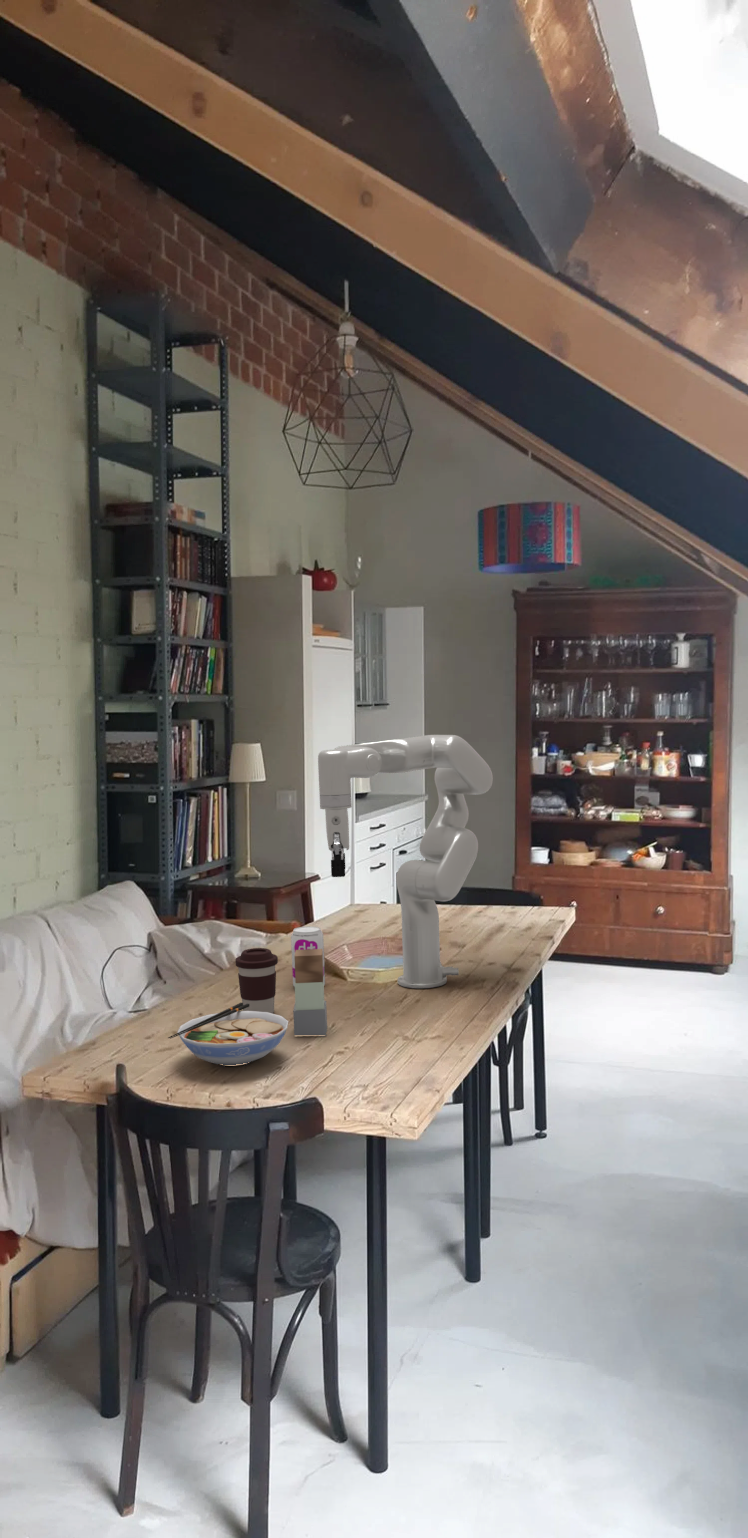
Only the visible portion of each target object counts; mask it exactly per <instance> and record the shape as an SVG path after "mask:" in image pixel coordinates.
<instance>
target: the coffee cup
mask: <svg viewBox="0 0 748 1538" xmlns="http://www.w3.org/2000/svg"><path fill="white" fill-rule="evenodd" d="M278 958H279V957H278V956H277V955H276V954H275V953H272V950H271V949H269V948H267V947H266V948H265V947H254V948H248V949H244V950H243V951H241V954H240V955H238V956H237V957H236V958H235V966H236V967H237V968H238V974H237V977H238V983H239V986H238V987H239V994H240V995H239V996H240V998H241V1003H243V1005H245V1004H249V1006H250V1007H247V1008H245V1009H242V1011H258V1012H268V1013H272V1014H274V1012H275V996H276V993H277V991H276V988H277V987H276V986H277V970H276V965H277V964H278V963H279V961H278V960H279V959H278Z"/></svg>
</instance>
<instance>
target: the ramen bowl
mask: <svg viewBox="0 0 748 1538" xmlns="http://www.w3.org/2000/svg"><path fill="white" fill-rule="evenodd" d="M247 1007H250V1006H249V1004H245V1005H243V1003H242V1002H239V1003H237V1004H235V1005H233V1006H230V1007H229V1008H226V1009H224V1010H222V1011H220V1012H217V1013H211V1014H205V1015H203V1016H200V1017H196V1018H193V1019H189V1020H188V1021H186V1022H185V1023H183V1024H181V1025H180V1026H179V1027H178V1030H177V1033H174V1034H172V1035H171V1036H168V1037H167V1039H173V1038H176V1037H179V1038H180V1040H181V1041H182V1042H183V1044H184V1045H185V1047H186V1048H187V1049H188V1051H190V1052H191V1053H192V1054H193V1055H194V1056H196V1058H198V1059H201V1060H202V1061H205V1062H208V1063H212V1064H215V1065H218V1064H223V1065H236V1064H243V1063H248V1062H251V1061H252V1062H254V1061H256V1060H259V1059H262V1058H263V1057H265V1056H267V1055H268V1054H269V1053H271V1052H273V1050H275V1049H276V1048H277V1047H278V1045H279V1044H280V1042H281V1041H282V1039H283V1038H284V1036H285V1034H286V1032H287V1029H288V1027H289V1026H288V1025H289V1020H287V1019H286V1018H285V1017H284V1016H282V1015H279V1014H275V1013H268V1012H258V1011H243V1009H245V1008H247ZM252 1062H251V1063H252Z"/></svg>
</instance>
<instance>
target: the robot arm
mask: <svg viewBox="0 0 748 1538" xmlns="http://www.w3.org/2000/svg"><path fill="white" fill-rule="evenodd" d="M317 764H318V765H317V767H318V768H317V769H318V770H317V771H318V788H319V789H318V790H319V792H318V793H319V794H318V795H319V809H320V810H324V811H325V829H326V830H325V831H326V839H327V846H328V850H329V851H331V859H330V868H331V871H330V873H331V875H330V876H331V877H332V878H344V877H345V876H346V854H345V852H344V851H345V850H344V849H346V851H348V850H350V826H349V823H350V822H349V812H348V809H351V808H352V807H353V806H352V805H353V804H352V788H351V787H352V785H351V784H352V782H351V780H352V779H353V778H355V779H369V778H372V777H374V776H375V775H377V774H379V773H380V774H382V773H383V774H403V773H409V772H414V771H415V772H416V771H422V770H427V769H435V768H436V769H435V771H434V784H435V787H436V790H437V791H436V792H437V796H438V806H437V809H436V811H435V814H434V816H433V817H432V819H431V820H430V823H429V824H428V826H427V828H426V830H425V832H424V834H423V835H422V838H421V840H420V843H419V852H420V855H421V856H422V857H423V858H424V860H422V859H411V860H407V861H405V862H404V863H402V864H401V865H400V866H399V868H398V870H397V873H396V878H395V879H396V881H395V882H396V886H397V887H396V888H397V891H398V895H399V896H398V897H399V901H400V911H401V912H400V913H401V914H400V915H401V937H402V939H401V940H402V942H401V943H402V944H401V945H402V969H403V971H402V972H403V974H402V975H400V976H398V977H397V984H398V985H399V986H401V987H403V988H410V989H432V988H438V987H441V986H444V985H445V984H446V983H448V982H447V981H448V979H447V978H448V977H447V976H459V972H460V971H459V967H453V966H444V965H442V962H441V949H440V947H441V946H440V945H441V943H440V913H439V909H438V905H437V903H436V902H448V901H449V902H450V901H451V900H453V899H454V898H456V897H457V895H458V894H459V892H460V891H461V889H462V887H463V885H464V883H465V881H466V879H467V877H468V875H469V874H470V871H471V869H472V868H473V866H474V864H475V861H476V859H477V856H478V852H479V841H478V838H477V836H476V833H474V832H473V831H472V830H470V828H469V829H468V828H466V825H467V824H468V821H469V814H470V812H469V808H468V804H467V802H466V798H465V795H474V796H475V795H476V796H477V795H483V794H485V793H487V792H488V791H489V790H490V789H491V788H492V785H493V781H494V779H493V778H494V775H493V773H492V769H491V767H490V766H489V764H488V763H487V761H485V759H484V758H483V757H482V756H481V755H480V754H479V753H478V751H476V750H475V749H474V747H473V746H472V745H470V744H469V742H468V741H467V740H465V739H464V738H463V737H461V736H459V735H457V734H456V735H455V734H425V735H418V736H413V737H412V736H410V737H404V738H395V739H388V740H387V739H386V740H382V741H373V742H364V743H355V744H347V745H341V746H337V747H335V748H334V749H325V750H321V751H320V752H319V753H318V755H317ZM425 859H426V860H425Z"/></svg>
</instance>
